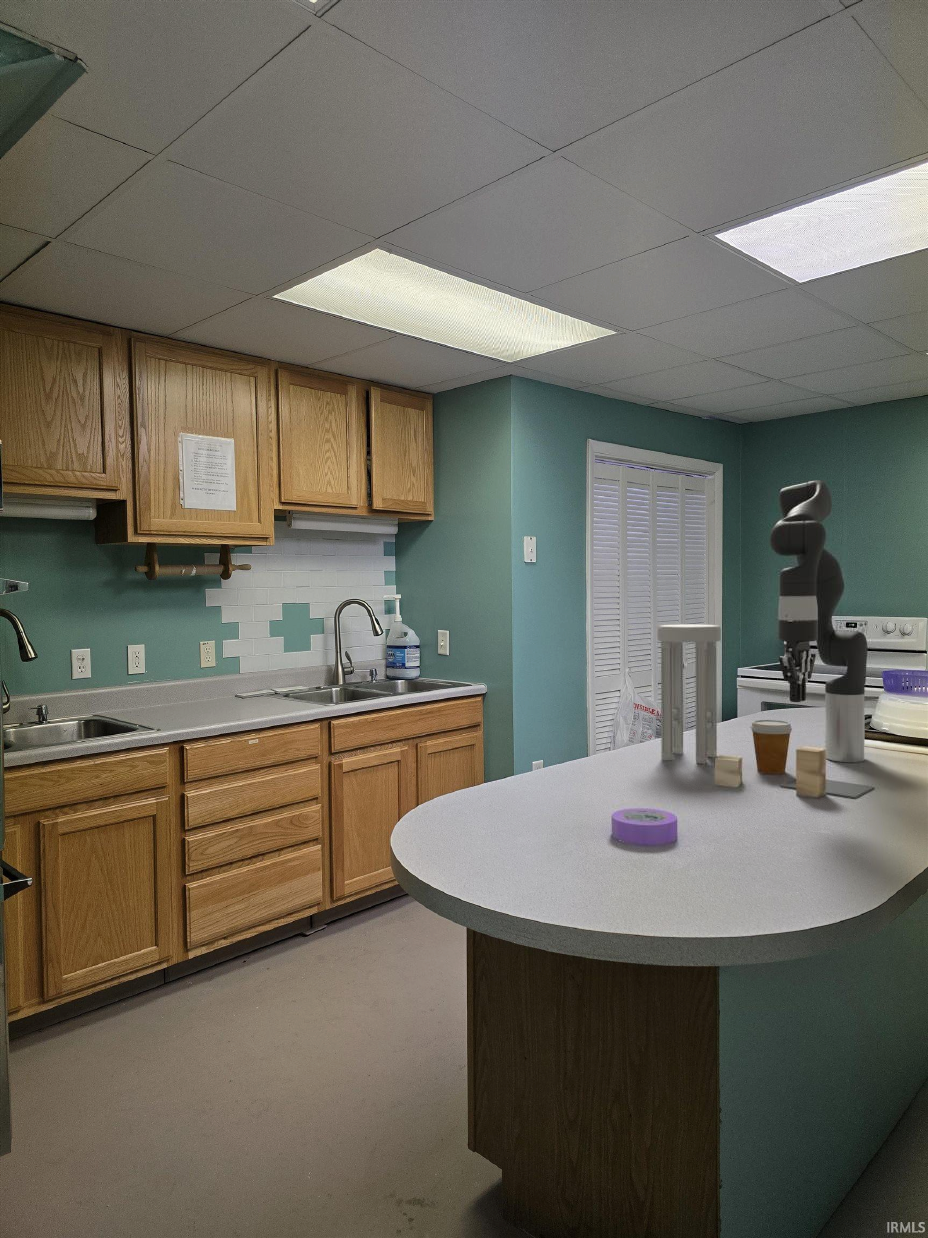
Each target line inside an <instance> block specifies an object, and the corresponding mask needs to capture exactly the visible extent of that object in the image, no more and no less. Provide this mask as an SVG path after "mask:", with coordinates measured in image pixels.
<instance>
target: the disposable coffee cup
mask: <svg viewBox="0 0 928 1238" xmlns="http://www.w3.org/2000/svg"><path fill="white" fill-rule="evenodd" d="M751 722H752V723H751V726H750V729H751V732H752V737H753V745H754V746H753V747H754V752H755V761H756V770H757V772H759V773H761V774H766V775H781V774H786V766H787V758H788V754H789V753H788V751H789V745H790V737H791V733H792V730H793V728H792V726H791V722H788V721H785V720H778V719H756V720H753V721H751Z"/></svg>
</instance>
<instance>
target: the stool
mask: <svg viewBox="0 0 928 1238" xmlns="http://www.w3.org/2000/svg"><path fill="white" fill-rule="evenodd" d="M721 629H722V628H721V626H720V625H718V624H717V625H716V624H701V623H700V624H696V623H695V624H693V623H692V624H688V623H687V624H686V623H685V624H663V625H662V624H661V625H658V627H657V641H658V642H660V703H661V704H660V716H661V718H660V726H661V727H660V730H661V731H660V732H661V733H660V734H661V735H660V737H661V738H660V739H661V740H660V742H661V745H660V746H661V749H660V751H661V759H662V760H663V761H671V760H673V758H674V757H673V756H674V755H673V754H674V753H675V755H682V754H683V753H684V643H694V645H695V649H694V650H695V653H694V654H695V657H694V658H695V660H694V661H695V662H694V663H695V666H694V667H695V671H694V672H695V764H703V765H706V764H707V763H708V757H709V758H717V757H718V745H717V744H718V730H717V727H718V726H717V725H718V718H717V716H718V713H717V711H718V710H717V708H718V707H717V705H718V702H717V700H718V699H717V698H718V697H717V695H718V694H717V693H718V691H717V690H718V689H717V686H718V685H717V681H718V680H717V679H718V677H717V674H718V673H717V668H718V667H717V664H718V663H717V642H721V641H722V640H721V639H722V630H721Z"/></svg>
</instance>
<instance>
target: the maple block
mask: <svg viewBox="0 0 928 1238" xmlns="http://www.w3.org/2000/svg"><path fill="white" fill-rule="evenodd" d="M714 768H715V769H714V773H715V774H714V780H715V781H714V782H715V783H714V784H715V786H725V787H733V788H738V787H740V785H741V784H742V783H743V756H737V755H726V754H725V755H724V754H719V755H717V756H716V757H715V759H714Z"/></svg>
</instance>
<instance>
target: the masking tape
mask: <svg viewBox="0 0 928 1238" xmlns="http://www.w3.org/2000/svg"><path fill="white" fill-rule="evenodd" d="M611 836H612V837H613V838H614V839H615V838H616V839H615V840H617V839H618V840H617V841H619V840H621V841H620V842H622V841H624V842H623V843H625V842H628V843H627V844H629V843H630V844H631V845H635V846H637V845H638V846H664V845H668V844H672V843H674V842H676V841H677V840H678V816H677V815H676V814H674V813H672V812H670V811H667V810H663V809H656V808H643V807H642V808H639V807H638V808H637V807H636V808H633V807H632V808H626V809H624V808H623V809H620V810H617V811H614V812H612V814H611Z"/></svg>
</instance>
